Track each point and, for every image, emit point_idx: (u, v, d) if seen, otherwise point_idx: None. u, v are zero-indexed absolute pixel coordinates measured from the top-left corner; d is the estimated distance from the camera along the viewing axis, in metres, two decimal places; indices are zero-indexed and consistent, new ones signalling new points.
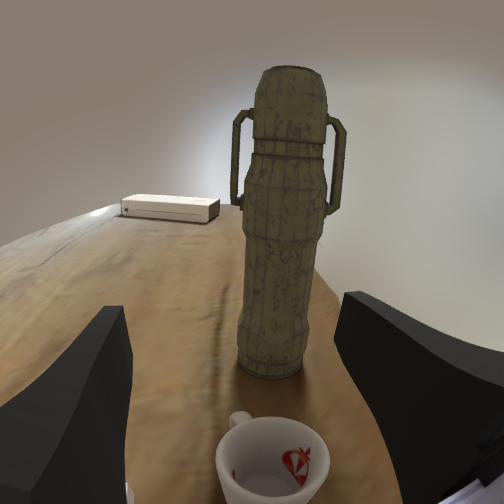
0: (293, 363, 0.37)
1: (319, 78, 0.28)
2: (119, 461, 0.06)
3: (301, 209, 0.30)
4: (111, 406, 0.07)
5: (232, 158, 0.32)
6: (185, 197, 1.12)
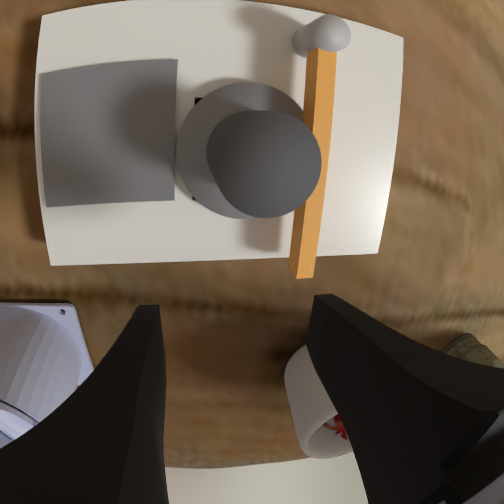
0: None
1: None
2: (161, 462, 0.06)
3: None
4: (154, 406, 0.07)
5: None
6: None
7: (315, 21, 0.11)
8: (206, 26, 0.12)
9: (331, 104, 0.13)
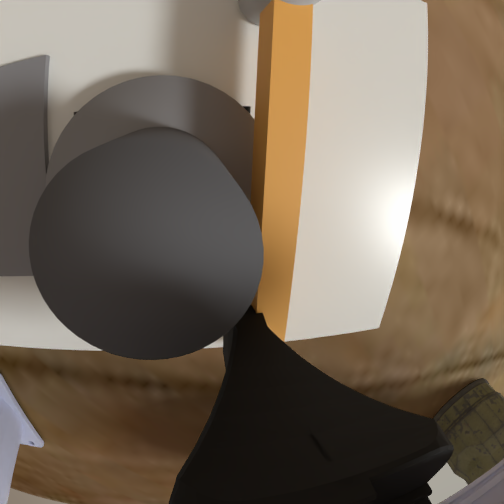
0: None
1: None
2: None
3: None
4: None
5: None
6: None
7: None
8: None
9: (304, 106, 0.06)
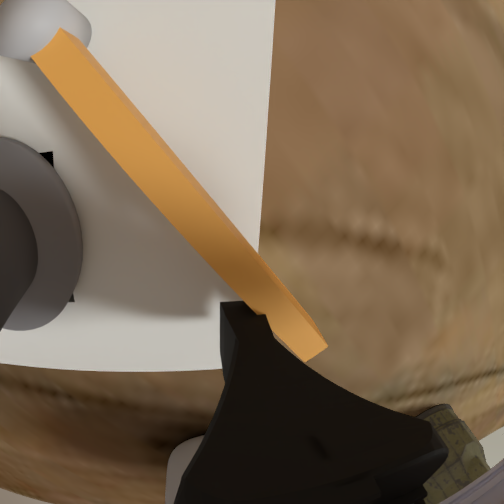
0: None
1: None
2: None
3: None
4: None
5: None
6: None
7: None
8: None
9: (121, 108, 0.06)
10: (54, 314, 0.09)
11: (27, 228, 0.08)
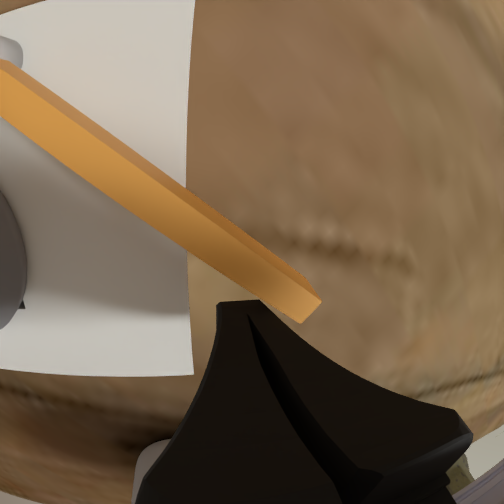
0: None
1: None
2: None
3: None
4: None
5: None
6: None
7: None
8: None
9: (45, 106, 0.05)
10: (7, 319, 0.09)
11: None
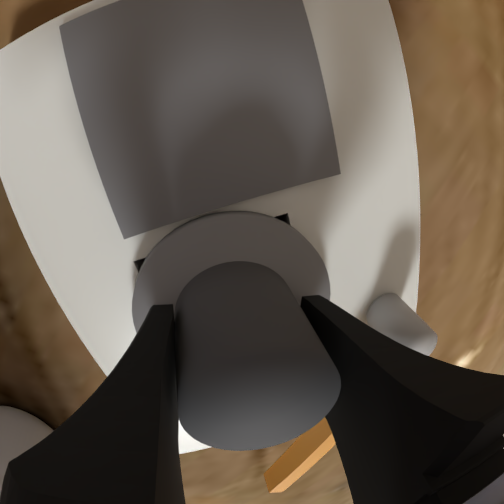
0: None
1: None
2: (178, 461, 0.06)
3: None
4: (171, 406, 0.07)
5: None
6: None
7: (412, 339, 0.10)
8: (385, 194, 0.11)
9: None
10: None
11: None
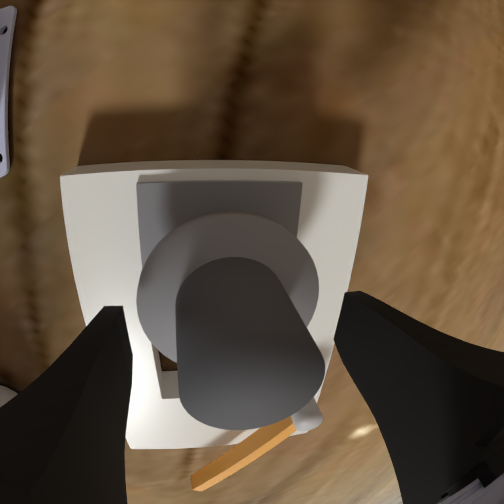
0: None
1: None
2: (119, 461, 0.06)
3: None
4: (112, 407, 0.07)
5: None
6: None
7: (305, 416, 0.17)
8: (313, 328, 0.18)
9: (273, 445, 0.18)
10: None
11: None
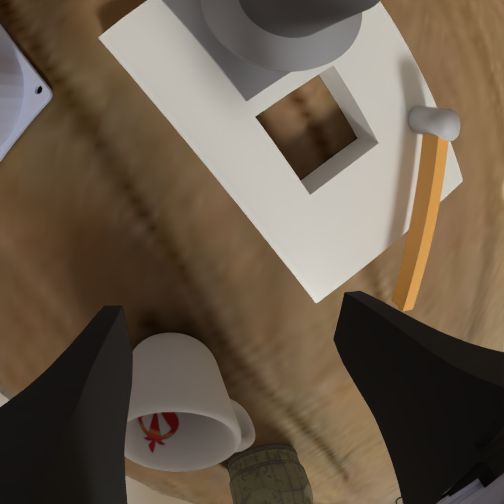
0: (234, 472, 0.30)
1: None
2: (119, 461, 0.06)
3: None
4: (112, 406, 0.07)
5: None
6: None
7: (440, 115, 0.14)
8: (383, 43, 0.14)
9: (442, 182, 0.16)
10: (287, 67, 0.11)
11: None
